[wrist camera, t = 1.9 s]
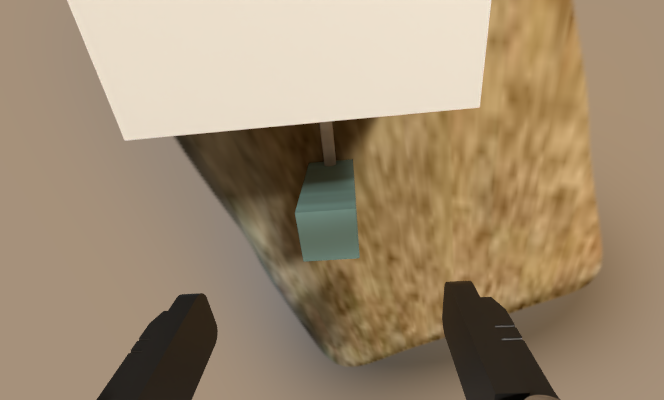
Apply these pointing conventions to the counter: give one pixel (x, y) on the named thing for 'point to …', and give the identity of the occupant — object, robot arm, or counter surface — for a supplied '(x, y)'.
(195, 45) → the cream white box
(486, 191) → the counter surface
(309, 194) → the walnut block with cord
